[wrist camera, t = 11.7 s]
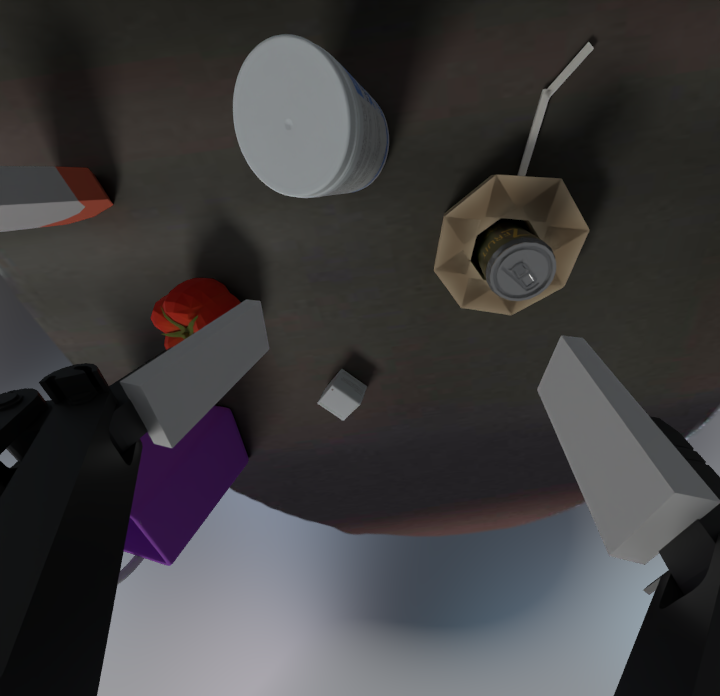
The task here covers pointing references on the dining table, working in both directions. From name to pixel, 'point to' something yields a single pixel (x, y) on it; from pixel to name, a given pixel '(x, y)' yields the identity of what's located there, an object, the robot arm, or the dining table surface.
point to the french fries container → (48, 196)
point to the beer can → (515, 261)
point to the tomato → (191, 308)
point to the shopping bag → (181, 487)
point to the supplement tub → (306, 121)
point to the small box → (342, 395)
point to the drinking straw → (543, 104)
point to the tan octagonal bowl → (511, 201)
